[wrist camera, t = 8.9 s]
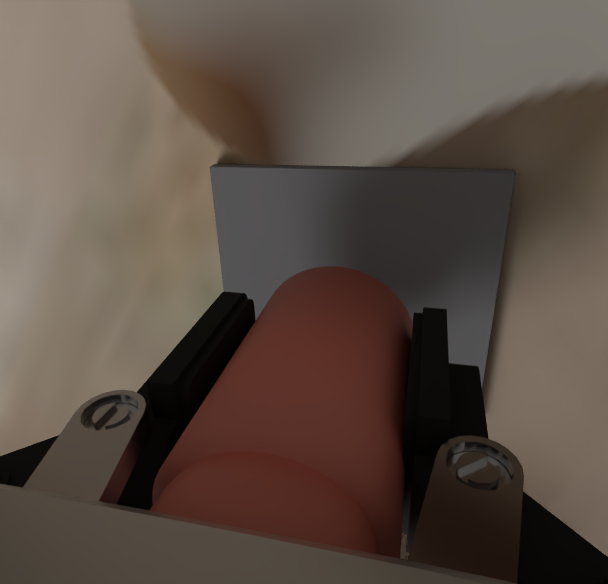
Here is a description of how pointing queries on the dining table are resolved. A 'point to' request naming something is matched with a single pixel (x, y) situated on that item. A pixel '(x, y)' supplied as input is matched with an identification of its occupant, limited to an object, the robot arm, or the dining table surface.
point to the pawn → (305, 420)
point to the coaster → (371, 235)
